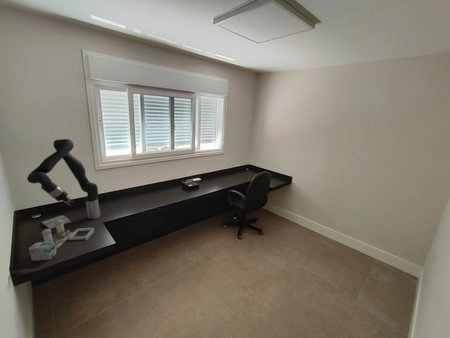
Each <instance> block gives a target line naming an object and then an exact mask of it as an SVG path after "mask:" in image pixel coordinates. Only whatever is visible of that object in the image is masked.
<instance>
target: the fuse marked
mask: <svg viewBox="0 0 450 338" xmlns="http://www.w3.org/2000/svg"><path fill="white" fill-rule="evenodd" d="M55 225H56V227H55V228H56V233H58V235H64V234H65V230H66V229H65V226H64V224H63V220H62V219H59V220H56V221H55Z"/></svg>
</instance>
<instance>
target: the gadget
mask: <svg viewBox="0 0 450 338" xmlns="http://www.w3.org/2000/svg"><path fill="white" fill-rule="evenodd" d="M59 219H62V220H63V225H65V224H67V223H72V221H71V220H70V219H69V218H68V217H67V216H66V215H65V216H64V215H59V216H55V217H53V218H50V219H46V220H43V221H41V223H42V224H41V223H40V224H41V225H43V226H45V227H46V228H47V229H51V230H52V229H53V228H56V225H55V221H56V220H59Z"/></svg>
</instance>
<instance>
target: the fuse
mask: <svg viewBox="0 0 450 338" xmlns="http://www.w3.org/2000/svg"><path fill="white" fill-rule="evenodd" d="M41 234H42V237H43V242H50V241H53V239H52V237H53V235H52V228H51V229H49V228H45V229H43V230H42V231H41Z"/></svg>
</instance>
